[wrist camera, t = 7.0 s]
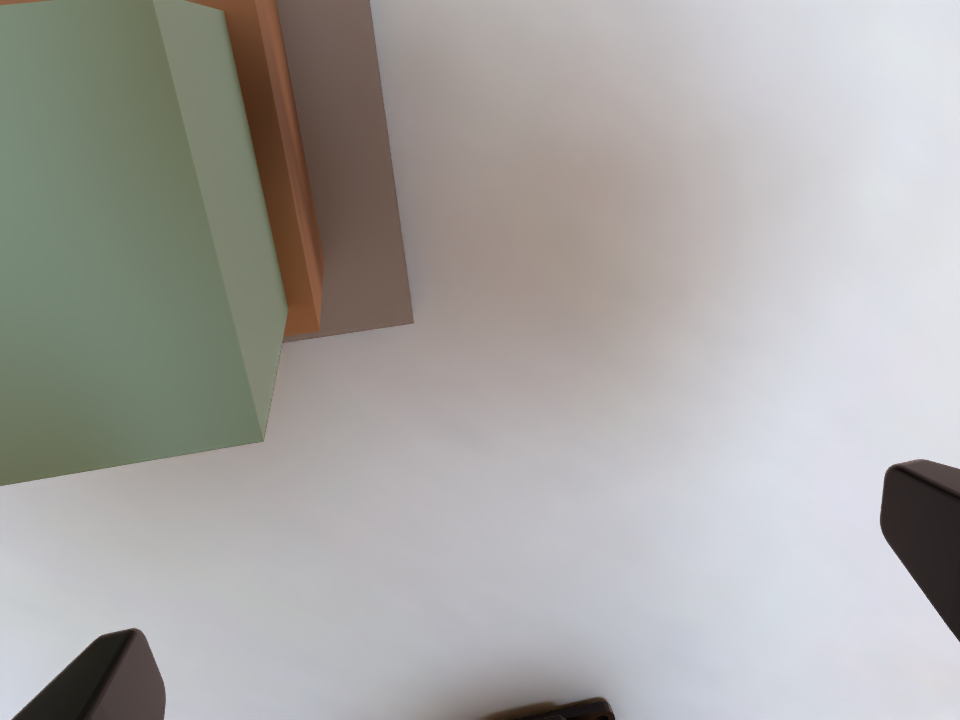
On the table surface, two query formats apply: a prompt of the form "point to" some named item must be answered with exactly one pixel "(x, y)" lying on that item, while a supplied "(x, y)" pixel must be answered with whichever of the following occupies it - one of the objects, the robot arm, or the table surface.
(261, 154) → the walnut block
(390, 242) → the mat
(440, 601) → the table surface
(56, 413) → the green cube
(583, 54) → the table surface
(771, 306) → the table surface
